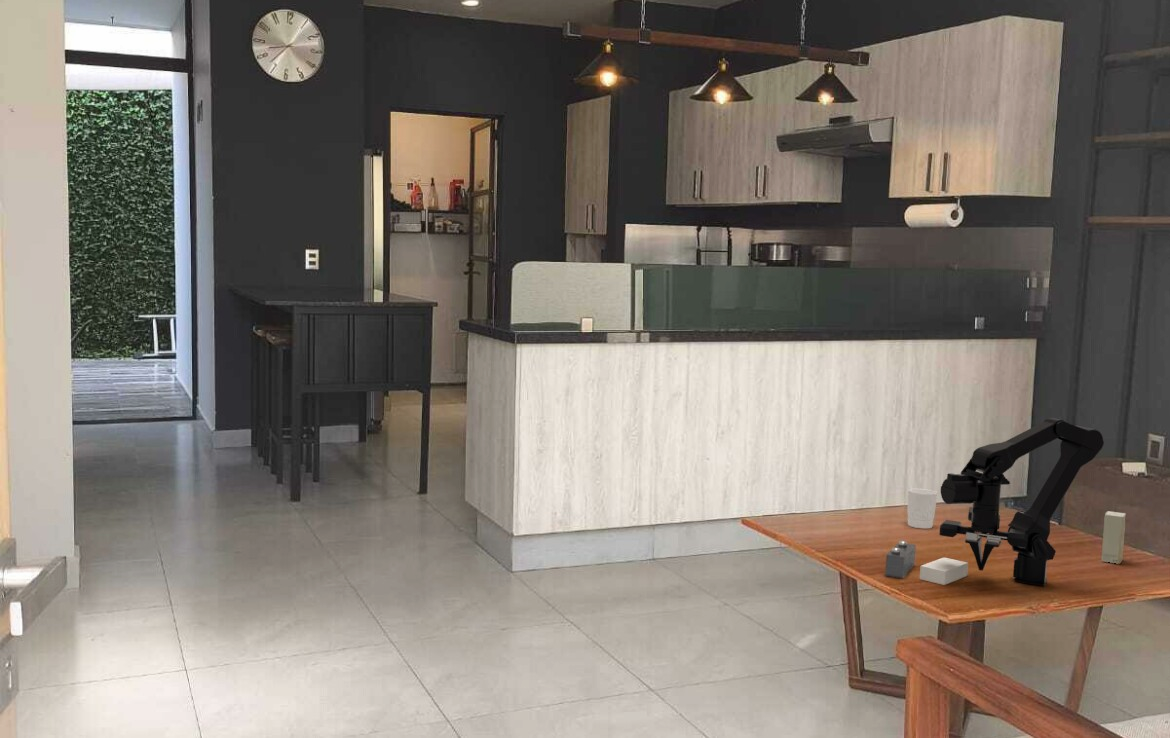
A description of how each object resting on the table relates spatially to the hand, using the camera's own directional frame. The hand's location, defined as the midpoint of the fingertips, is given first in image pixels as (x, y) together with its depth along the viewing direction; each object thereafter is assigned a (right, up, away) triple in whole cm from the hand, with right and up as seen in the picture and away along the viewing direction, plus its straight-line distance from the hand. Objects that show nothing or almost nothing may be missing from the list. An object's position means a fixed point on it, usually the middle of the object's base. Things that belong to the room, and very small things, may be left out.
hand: (981, 570), depth 250 cm
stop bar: (-16, -2, +9) cm, 18 cm away
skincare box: (+43, -3, +26) cm, 50 cm away
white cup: (+3, +2, +57) cm, 57 cm away
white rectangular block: (-7, -3, +4) cm, 9 cm away
